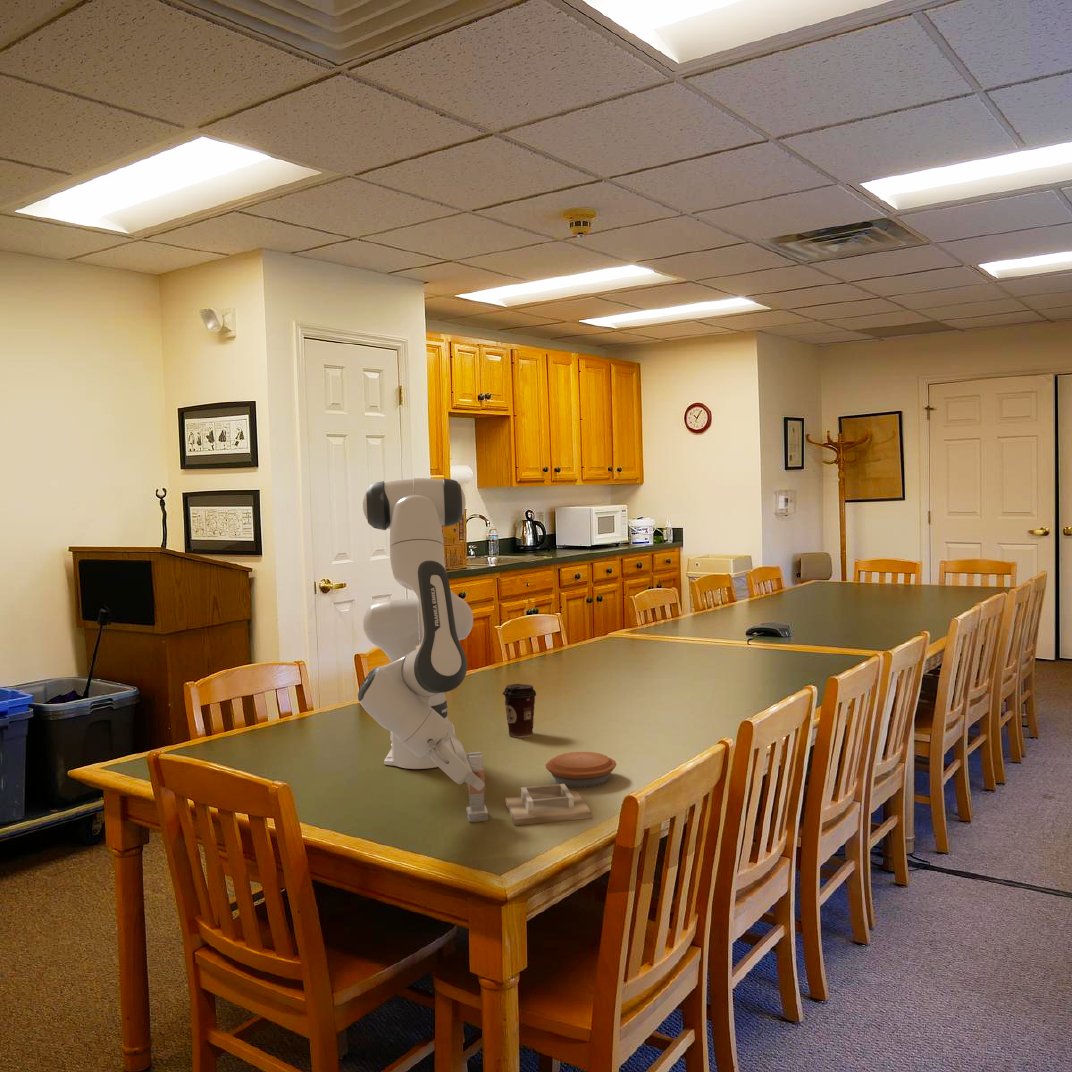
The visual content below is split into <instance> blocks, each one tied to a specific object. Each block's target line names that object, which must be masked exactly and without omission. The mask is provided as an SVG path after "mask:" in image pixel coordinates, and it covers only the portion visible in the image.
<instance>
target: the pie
mask: <svg viewBox="0 0 1072 1072" xmlns="http://www.w3.org/2000/svg"><path fill="white" fill-rule="evenodd" d="M616 766H617V762H616V760H614V759H612V758H611V757H608V756H607V755H605V754H604V753H599V752H593V751H591V752H590V751H573V752H567V753H562V754H558V755H556V756H554V757H552V758H551V759H550V760H549V761H547V762H546V764H545V769H546V770H547V772H550V773H551V775H552V777H553V779H554V780H555V782H556V783H557V784H565V785H566V787H567V788H568V787H569V788H591V787H597V786H600V785H603V784H604V783H606V782H607V781H608V779H609V777H610V775H611V773H612V772H613V771H614V770H615V768H616Z"/></svg>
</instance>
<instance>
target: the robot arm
mask: <svg viewBox="0 0 1072 1072" xmlns="http://www.w3.org/2000/svg"><path fill="white" fill-rule="evenodd" d="M365 490H366V491H365V493H364V497H363V501H362V511H363V514H364V516H365V519H366V521H367V524H368V525H370V527H372V528H374V529H377V530H381V531H386V530H387V529H388V530H389V557H390V558H389V559H390V566H391V570H392V575H393V578H394V579H395V581H396V582H397V583H398V584H399V585H401V586H402V587H403V588H405V589H408V590H410V591H413V592H414V593H415V595H416V597H417V598H405V599H404V598H402V599H401V598H400V599H389V600H383V601H379V602H376V603H372V604H371V605H370V606H369V607H368V609H367V610H366V612H365V613H364V617H363V619H362V621H363V622H362V625H363V626H362V627H363V628H362V629H363V632H364V634H365V636H366V638H367V640H369V642H370V643H371V644H373V645H374V646H376V647H377V648H378V649H380V650H381V651H382V652H384V654H385V655H386V656H387V658H388V659H389V661H390V662H389V663H388V664H385V665H381V666H375V667H374V668H372V669H371V670H370V671H369V673H367V675H366V676H365V678H364V679H363V680H362V682H361V684H360V686H359V690H358V693H357V700H358V702H359V704H360V705H361V707H362V708H363V709H364V711H365V712H366V713H367V714H368V715H369V716H370V717H372V719H373V720H374V721H375V722H376V723H378V724H379V726H380V727H382V728H383V729H385V730H387V731H389V732H390V734H389V738H390V741H391V744H390V750H389V752H388V754H387V755H386V756H385V758H384V761H383V762H384V763H383V764H384V765H386V766H394V767H397V768H398V767H399V768H403V769H407V770H408V769H412V770H420V769H421V770H423V769H433V768H439V769H440V770H441V771H443V772H444V773H445V775H447V776H448V777H449V778H450V779H451V780H452V781H453V782H455V783H456V784H458V785H462V784H463V783H466V784H467V785H468V784H470V785H471V786H473V787H474V788H475V789H477V790H478V791H480V790H481V789H482V788H483V787H484V785H485V786H486V784H484V782H483V781H482V780H481V779H480V778H479V777H477V776H476V775H475V774H474V773H473V772H472V770H471V767H470V764H469V762H468V755H467V754H466V751H465V749H464V746H463V744H462V743H461V741H460V740H459V738H458V737H457V736H456V731H455V725H454V724H453V722H452V721H450V720H449V718H448V714H449V713H448V710H449V708H448V701H447V700H446V694H445V693H447V692H451V691H453V690H455V689H457V687H459V686H460V685H461V684H462V683H463V681H464V679H465V677H466V675H467V671H468V661H467V655H466V654H465V651H464V648H463V646H462V644H461V642H460V641H461V640H465V639H466V638H467V637H468V636H469V635H470V633H471V631H472V629H473V625H474V615H473V611H472V608H471V607H470V605H469V603H468V602H467V601H465V600H464V599H463V598H461V597H459V596H458V595H457V594H456V593H454V591H452V589H451V587H450V581H449V577H448V573H447V569H446V562H445V561H446V560H445V547H444V536H443V535H444V534H443V526H444V527H445V528H446V527H447V528H448V527H450V526H451V527H452V526H454V525H457V524H458V523H459V522H460V521H462V520H463V515H464V513H465V509H466V504H467V503H466V496H465V493H464V490H463V488H462V485H461V484H460V483H459V482H458V481H457V480H455V479H451V478H442V479H438V478H437V479H436V478H428V477H427V478H426V477H425V478H423V477H422V478H420V477H418V478H415V477H414V478H413V479H401V480H400V479H399V480H398V479H397V480H392V481H384V480H381V481H377V482H374V483H372V484H370V485H368V487H367V488H366V489H365ZM417 646H418V648H417Z"/></svg>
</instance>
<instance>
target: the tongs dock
mask: <svg viewBox="0 0 1072 1072" xmlns="http://www.w3.org/2000/svg"><path fill="white" fill-rule="evenodd" d="M504 799H505V802H504V803H505V806H506V809H507V810H508V813H509V814H510V817H511V820H512V822H513V824H514V826H521V825H522V826H525V825H533V824H544V823H555V822H564V821H565V822H566V821H574V820H585V819H592V811H591V809H590V808H589V806H588V805H587V804H586V802H585V800H584V799H583V798H582V796H581V794H579V792H578V791H570V790H569V788H568V786H566V785H565V784H559V783H556V784H545V785H535V786H534V785H533V786H523V787H522V786H521V787H520V796H511V797H505V798H504Z"/></svg>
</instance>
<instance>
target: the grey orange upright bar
mask: <svg viewBox="0 0 1072 1072" xmlns="http://www.w3.org/2000/svg"><path fill="white" fill-rule="evenodd" d="M467 757H468V762H469V764H470V767H471V770H472V772H473V773H474V774H475V775H476V776H477V777H479V778H480V779H481V780H482V781H483V782H484V784H485V783H486V781H485V778H486V777H485V769H484V760H483V755H482V752H481V751H475V752H467ZM467 790H468V801H469V806H466V809H465V811H466V816H467V820H468V823H471V822H474V823H475V822H484V821H489V811H488V808H487V805H485V794H486V784H485V785H484V787H483V788H482V789H481V790H480V791H478V790H477V789H475V788H474V787H473V786H471V785H470V784H468V783H467Z"/></svg>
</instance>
